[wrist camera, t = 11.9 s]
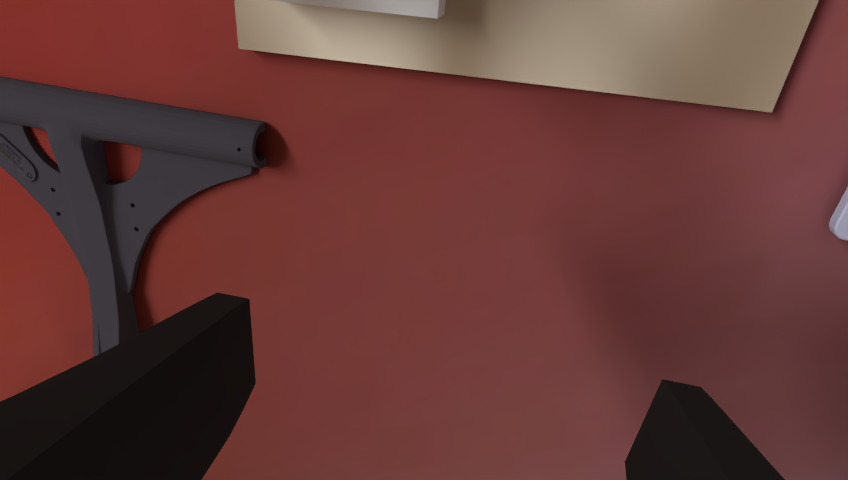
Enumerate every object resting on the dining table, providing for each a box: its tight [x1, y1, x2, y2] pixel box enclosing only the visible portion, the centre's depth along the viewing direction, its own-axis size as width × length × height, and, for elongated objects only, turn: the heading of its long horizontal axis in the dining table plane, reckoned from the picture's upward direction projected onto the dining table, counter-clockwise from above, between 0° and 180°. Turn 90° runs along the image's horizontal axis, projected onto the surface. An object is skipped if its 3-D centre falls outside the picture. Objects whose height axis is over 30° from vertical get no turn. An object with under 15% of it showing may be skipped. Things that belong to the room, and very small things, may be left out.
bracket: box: [0, 77, 267, 357], centre depth 21 cm, size 14×15×3 cm
